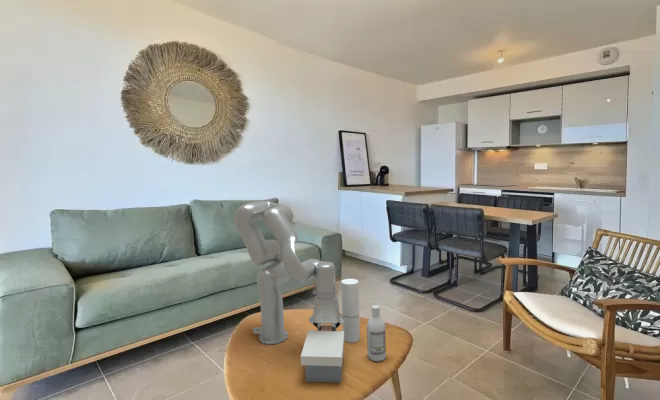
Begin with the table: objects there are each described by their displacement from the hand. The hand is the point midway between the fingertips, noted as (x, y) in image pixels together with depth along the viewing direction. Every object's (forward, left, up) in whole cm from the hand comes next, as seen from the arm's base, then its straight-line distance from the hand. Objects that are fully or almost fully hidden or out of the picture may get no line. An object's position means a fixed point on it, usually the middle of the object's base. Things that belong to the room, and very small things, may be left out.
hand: (327, 337), depth 136 cm
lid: (0, -10, +1) cm, 10 cm away
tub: (0, -12, -5) cm, 13 cm away
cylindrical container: (+9, +10, -6) cm, 15 cm away
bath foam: (+19, -4, -6) cm, 20 cm away
